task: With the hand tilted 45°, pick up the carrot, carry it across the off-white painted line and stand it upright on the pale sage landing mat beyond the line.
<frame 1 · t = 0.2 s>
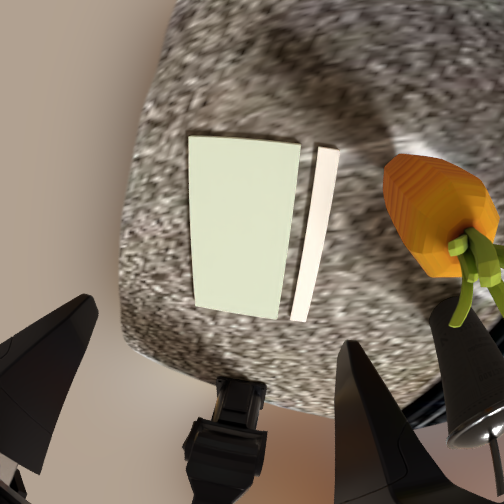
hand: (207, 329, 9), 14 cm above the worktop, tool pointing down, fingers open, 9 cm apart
drinking cup: (448, 312, 24), on the worktop
landing mat: (239, 236, 24), on the worktop
throw line: (313, 246, 23), on the worktop
carrot: (392, 166, 19), on the worktop
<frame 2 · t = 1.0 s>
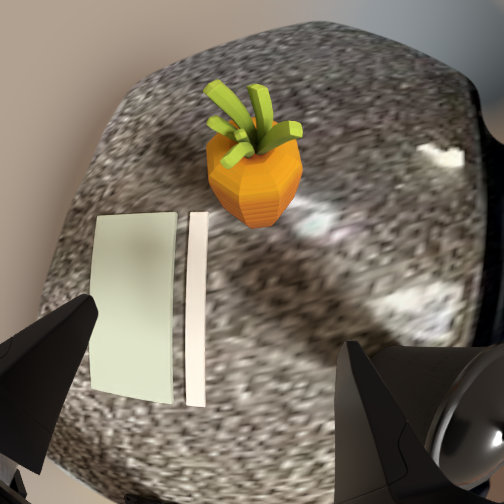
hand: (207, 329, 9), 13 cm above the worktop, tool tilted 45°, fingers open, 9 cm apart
drinking cup: (388, 372, 21), on the worktop
landing mat: (129, 306, 23), on the worktop
throw line: (196, 310, 23), on the worktop
carrot: (260, 219, 24), on the worktop
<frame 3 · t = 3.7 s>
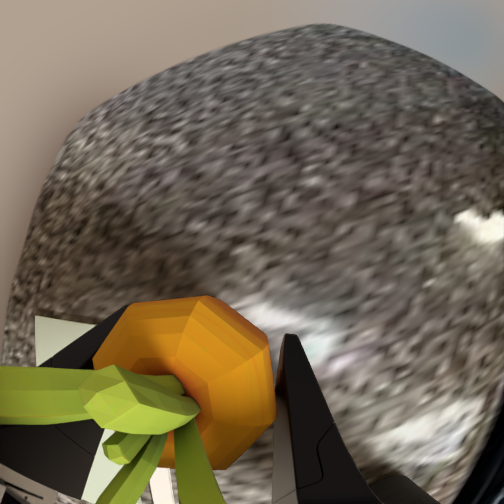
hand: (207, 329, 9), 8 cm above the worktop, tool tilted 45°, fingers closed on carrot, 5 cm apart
drinking cup: (383, 497, 13), on the worktop
landing mat: (84, 425, 16), on the worktop
throw line: (156, 444, 15), on the worktop
carrot: (231, 343, 17), on the worktop, touching gripper
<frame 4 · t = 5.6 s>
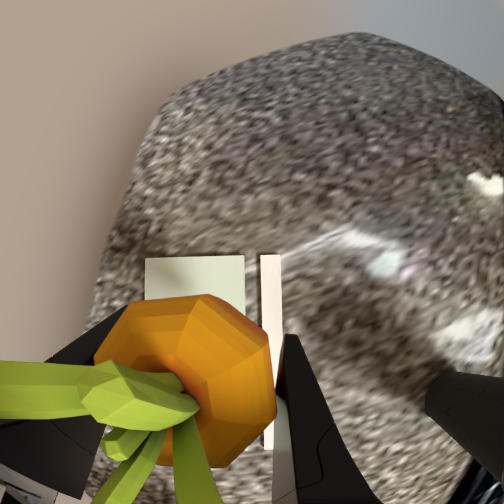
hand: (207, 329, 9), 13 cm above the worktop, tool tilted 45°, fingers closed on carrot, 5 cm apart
drinking cup: (444, 394, 20), on the worktop
landing mat: (195, 358, 22), on the worktop
throw line: (272, 359, 21), on the worktop
carrot: (234, 342, 17), point 5 cm above the worktop, touching gripper
when the fingers open (9 cm above the worktop, at t = 7.6 s): carrot drops 1 cm, resting on landing mat.
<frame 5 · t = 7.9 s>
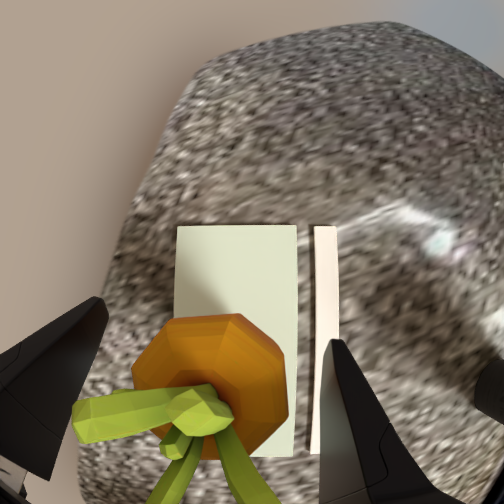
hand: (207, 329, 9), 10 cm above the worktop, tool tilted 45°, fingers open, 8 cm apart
drinking cup: (490, 385, 16), on the worktop
landing mat: (234, 347, 18), on the worktop
throw line: (326, 346, 18), on the worktop
carrot: (236, 343, 18), resting on landing mat
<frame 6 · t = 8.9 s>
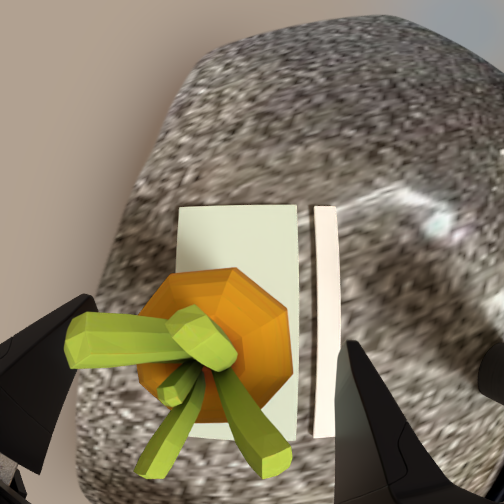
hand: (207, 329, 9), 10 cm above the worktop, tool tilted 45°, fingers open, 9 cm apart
drinking cup: (494, 369, 17), on the worktop
landing mat: (236, 326, 19), on the worktop
throw line: (328, 325, 18), on the worktop
carrot: (238, 322, 18), resting on landing mat
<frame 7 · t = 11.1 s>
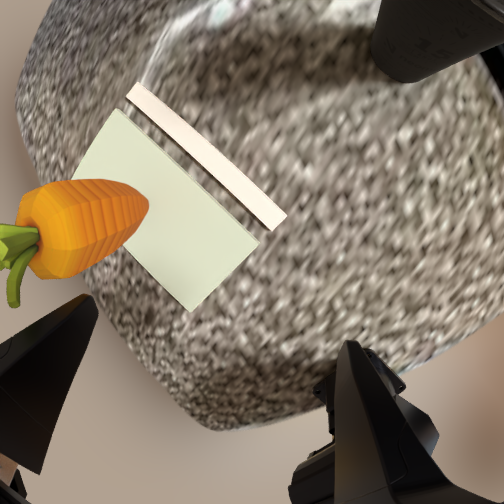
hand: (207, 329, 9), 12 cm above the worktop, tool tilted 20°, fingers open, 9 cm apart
drinking cup: (399, 55, 16), on the worktop
landing mat: (151, 206, 22), on the worktop
throw line: (199, 147, 20), on the worktop
carrot: (147, 203, 21), resting on landing mat
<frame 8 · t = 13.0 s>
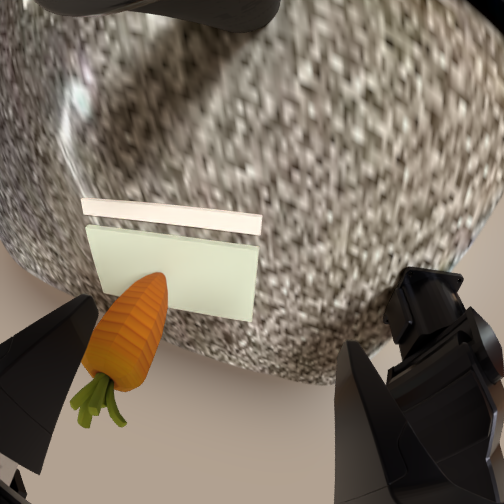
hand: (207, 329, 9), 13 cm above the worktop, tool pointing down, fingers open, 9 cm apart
drinking cup: (241, 2, 13), on the worktop
landing mat: (167, 271, 26), on the worktop
throw line: (161, 212, 22), on the worktop
carrot: (162, 272, 25), resting on landing mat
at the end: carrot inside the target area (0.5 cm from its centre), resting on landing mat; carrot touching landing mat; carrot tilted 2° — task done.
